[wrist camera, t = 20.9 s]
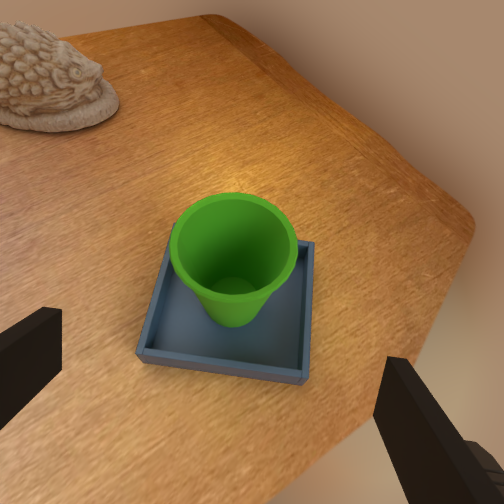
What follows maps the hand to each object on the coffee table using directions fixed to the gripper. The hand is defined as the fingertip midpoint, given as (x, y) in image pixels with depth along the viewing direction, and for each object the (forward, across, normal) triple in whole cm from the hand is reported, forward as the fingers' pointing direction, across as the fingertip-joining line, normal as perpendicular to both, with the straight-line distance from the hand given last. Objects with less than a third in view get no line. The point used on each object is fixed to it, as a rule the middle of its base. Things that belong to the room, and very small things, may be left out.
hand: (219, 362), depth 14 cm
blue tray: (+20, -1, -6) cm, 20 cm away
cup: (+19, -1, -6) cm, 20 cm away
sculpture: (+37, -29, +12) cm, 49 cm away
